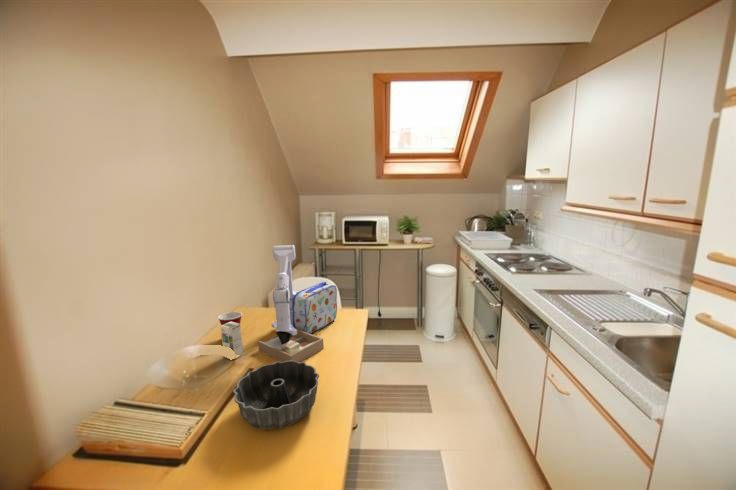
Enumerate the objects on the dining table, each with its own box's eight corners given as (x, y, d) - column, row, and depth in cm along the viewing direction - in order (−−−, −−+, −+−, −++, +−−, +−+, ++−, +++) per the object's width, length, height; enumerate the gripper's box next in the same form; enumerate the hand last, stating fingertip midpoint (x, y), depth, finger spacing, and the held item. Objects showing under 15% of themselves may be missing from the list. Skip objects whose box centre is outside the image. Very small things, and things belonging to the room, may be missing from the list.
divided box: (258, 350, 147) (257, 341, 146) (291, 335, 161) (290, 326, 160) (291, 366, 133) (290, 356, 132) (323, 348, 147) (323, 338, 146)
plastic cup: (248, 333, 164) (245, 310, 162) (239, 343, 154) (236, 319, 152) (226, 333, 165) (223, 310, 162) (216, 343, 154) (213, 319, 152)
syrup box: (223, 358, 141) (219, 326, 139) (234, 351, 147) (231, 320, 144) (232, 361, 139) (229, 328, 136) (243, 354, 144) (240, 322, 141)
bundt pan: (218, 436, 97) (214, 406, 96) (259, 383, 123) (257, 358, 121) (306, 444, 94) (303, 412, 92) (329, 387, 119) (327, 361, 117)
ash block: (282, 351, 141) (282, 344, 140) (292, 346, 144) (291, 340, 144) (290, 354, 137) (289, 348, 137) (299, 349, 141) (299, 343, 141)
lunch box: (325, 314, 185) (323, 276, 180) (341, 318, 179) (339, 278, 175) (291, 334, 161) (287, 291, 157) (307, 339, 156) (304, 294, 152)
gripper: (264, 315, 142) (267, 345, 144) (286, 324, 133) (288, 355, 136) (278, 310, 147) (280, 339, 150) (300, 318, 139) (302, 348, 141)
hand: (285, 346), depth 143 cm, fingers closed
